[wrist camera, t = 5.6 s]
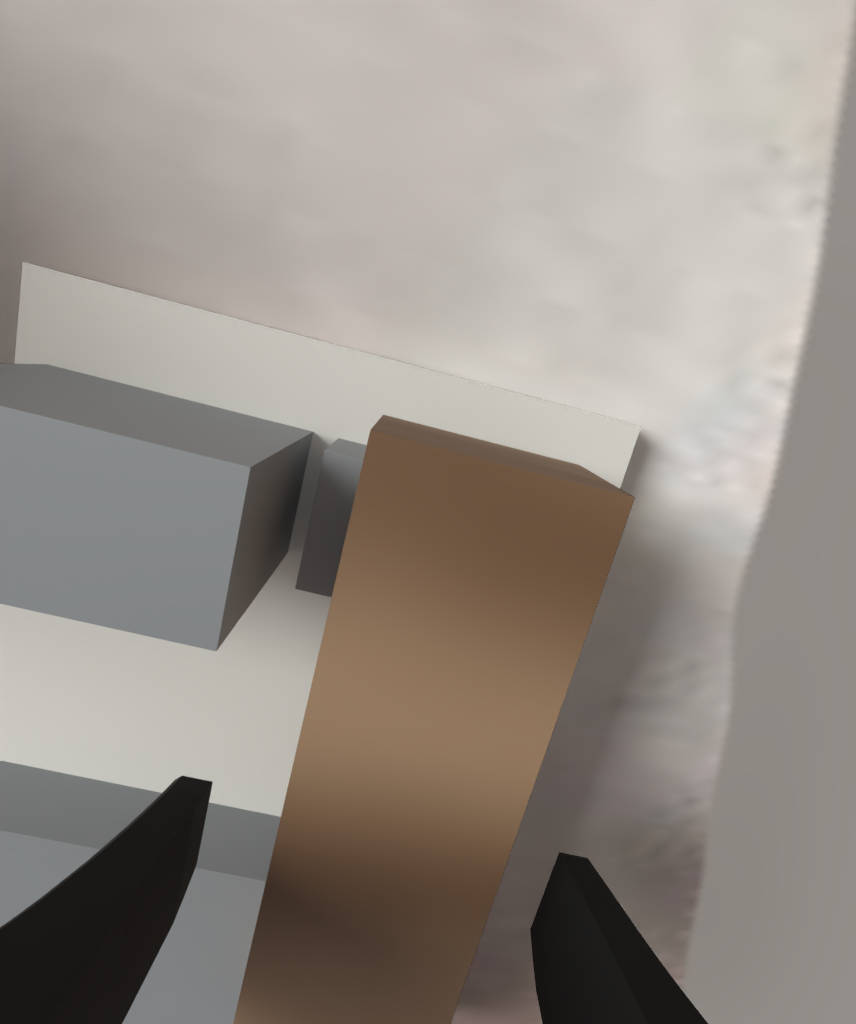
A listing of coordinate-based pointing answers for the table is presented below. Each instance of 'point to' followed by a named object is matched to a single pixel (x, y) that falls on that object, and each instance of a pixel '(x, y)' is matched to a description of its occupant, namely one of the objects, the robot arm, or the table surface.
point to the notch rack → (188, 581)
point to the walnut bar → (425, 722)
